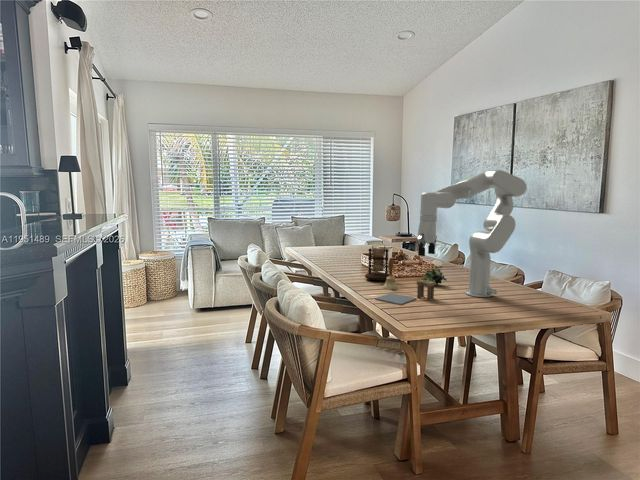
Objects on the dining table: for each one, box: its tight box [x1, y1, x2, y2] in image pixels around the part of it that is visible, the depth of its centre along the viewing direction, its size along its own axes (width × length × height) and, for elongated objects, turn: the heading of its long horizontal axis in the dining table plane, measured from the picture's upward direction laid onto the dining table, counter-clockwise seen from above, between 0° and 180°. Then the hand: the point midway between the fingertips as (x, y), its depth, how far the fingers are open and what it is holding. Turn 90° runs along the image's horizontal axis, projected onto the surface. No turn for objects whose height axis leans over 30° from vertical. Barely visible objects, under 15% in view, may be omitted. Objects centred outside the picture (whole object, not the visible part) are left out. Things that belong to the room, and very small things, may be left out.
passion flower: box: [421, 267, 447, 285], centre depth 227 cm, size 11×11×12 cm
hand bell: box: [382, 257, 399, 290], centre depth 220 cm, size 8×8×16 cm
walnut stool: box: [416, 279, 436, 301], centre depth 200 cm, size 7×5×8 cm
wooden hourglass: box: [364, 245, 390, 282], centre depth 240 cm, size 15×15×20 cm
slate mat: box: [374, 292, 417, 306], centre depth 197 cm, size 14×14×1 cm
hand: (426, 254), depth 198 cm, fingers open, 9 cm apart
